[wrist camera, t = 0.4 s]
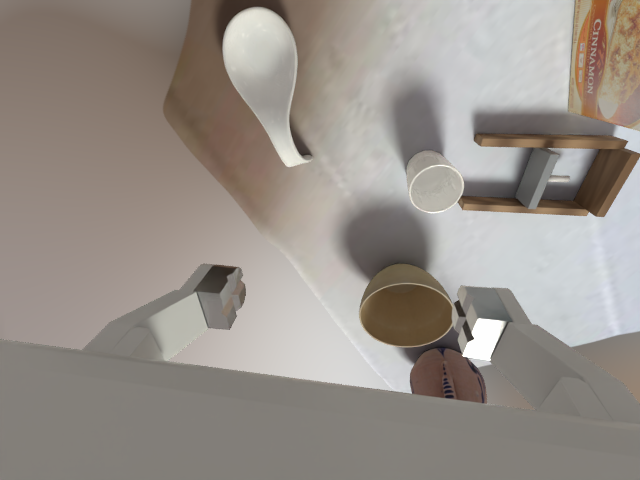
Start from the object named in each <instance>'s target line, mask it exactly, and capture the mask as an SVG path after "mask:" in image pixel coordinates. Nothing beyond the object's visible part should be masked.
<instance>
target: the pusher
mask: <svg viewBox="0 0 640 480" xmlns="http://www.w3.org/2000/svg"><path fill="white" fill-rule="evenodd" d="M558 157H559V154H557V153H555V152H553V151H551V150H549V149H547V148H534V149H533V151H532V154H531V156H530V159H529V162H528V164H527V167H526V169H525V172H524V175H523V177H522V180H521V182H520V185H519V188H518V190H517V193H516V195H515V197H516V198H517V199H518V200H519V201H520V202H521V203H522V204H523V205H524V206H525V207H526V208H528V209H536V207H537V205H538V203H539V201H540V198H541V196H542V194H543V192H544V189H545V187H546V185H547V182H568V181H569V180H570V176H557V175H551V173H552V171H553V169H554V166H555V164H556V162H557V160H558Z"/></svg>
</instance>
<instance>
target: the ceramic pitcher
mask: <svg viewBox="0 0 640 480" xmlns="http://www.w3.org/2000/svg"><path fill="white" fill-rule="evenodd" d="M410 386H411V391H412V394H417V395H425V396H432V397H440V398H447V399H455V400H462V401H470V402H477V403H485V404H487V394H486V387H485V383H484V379H483V377H482V375H481V373H480V371H479V370H478V368H477V367H476V366H475V365H474V364H473V363H472V362H471V361H470V360H468V359H467V358H466V357H465V356H463V355H462V354H461V353H459V352H457V351H454V350H452V349H449V348H435V349H431V350H428V351H426V352H424V353H423V354H422V355H421V356H420V357H419V358H418V360H417V361H416V363H415V364H414V366H413V368H412V370H411V373H410Z"/></svg>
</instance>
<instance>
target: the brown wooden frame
mask: <svg viewBox="0 0 640 480" xmlns="http://www.w3.org/2000/svg"><path fill="white" fill-rule="evenodd" d="M474 141H475V142H476V143H477V144H478V145H480V146H486V147H534V148H582V149H600V150H599V152H598V154H597V156H596V158H595V160H594V162H593V164H592V166H591V168H590V170H589V172H588V174H587V176H586V177H585V179H584V181H583V183H582V185H581V187H580V189H579V191H578V193H577V195H576V197H575V199H574V201H566V200H542V199H540V201H539V203H538V205H537V207H536V209H528V208H526V207H525V206H524V205H523V204H522V203H521V202H520V201H519V200H518V199H517V198H496V197H473V196H461V197H460V199H459V200H458V203H459V205H460V207H461V208H462V210H473V211H493V212H513V213H534V214H554V215H574V216H587V214H588V213H589V212H590V213H592V214H593V215H595V216H596V217H605V215H606V213H607V211H608V210H609V208H610V206H611V205H612V203H613V201H614V200H615V198H616V196H617V195H618V193H619V191H620V190H621V188H622V186H623V184H624V183H625V181H626V179H627V178H628V176H629V174H630V173H631V171H632V169H633V168H634V166H635V164H636V163H637V161H638V159H639V157H640V154H639V153H637V152H634V151H631V150H628V149H625V148H624V147H625V146H626V144H627V142H628V141H626V140H623V139H620V138H617V137H614V136H604V135H538V134H476V135H475V139H474Z"/></svg>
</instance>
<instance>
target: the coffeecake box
mask: <svg viewBox="0 0 640 480" xmlns="http://www.w3.org/2000/svg"><path fill="white" fill-rule="evenodd" d="M568 111H569V112H573V113H576V114H579V115H583V116H587V117H590V118H594V119H598V120H601V121H605V122H609V123H612V124H616V125H620V126H623V127H626V128H630V129H633V130H637V131H640V0H576V3H575V17H574V31H573V46H572V61H571V77H570V92H569V107H568Z"/></svg>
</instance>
